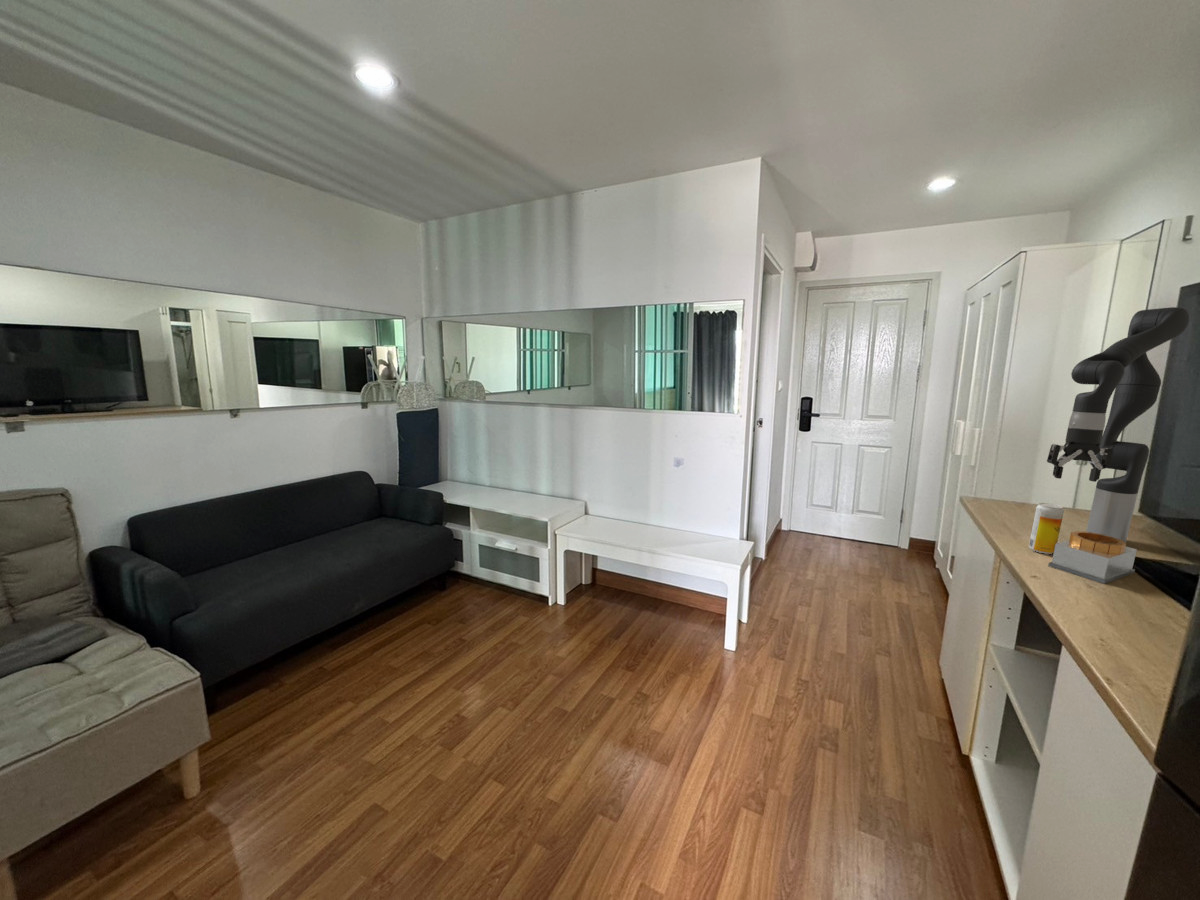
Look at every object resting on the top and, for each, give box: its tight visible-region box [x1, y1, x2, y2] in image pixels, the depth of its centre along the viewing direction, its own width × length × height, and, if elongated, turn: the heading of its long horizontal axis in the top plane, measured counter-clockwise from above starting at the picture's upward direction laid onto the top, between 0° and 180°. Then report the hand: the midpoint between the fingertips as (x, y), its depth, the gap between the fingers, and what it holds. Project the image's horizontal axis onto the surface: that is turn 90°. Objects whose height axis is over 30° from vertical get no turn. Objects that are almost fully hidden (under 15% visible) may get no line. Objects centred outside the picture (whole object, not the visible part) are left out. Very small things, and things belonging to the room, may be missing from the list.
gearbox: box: [1047, 530, 1138, 585], centre depth 132 cm, size 21×12×10 cm, turn 113°
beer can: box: [1028, 502, 1064, 555], centre depth 143 cm, size 6×6×15 cm
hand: (1074, 479), depth 142 cm, fingers open, 8 cm apart
